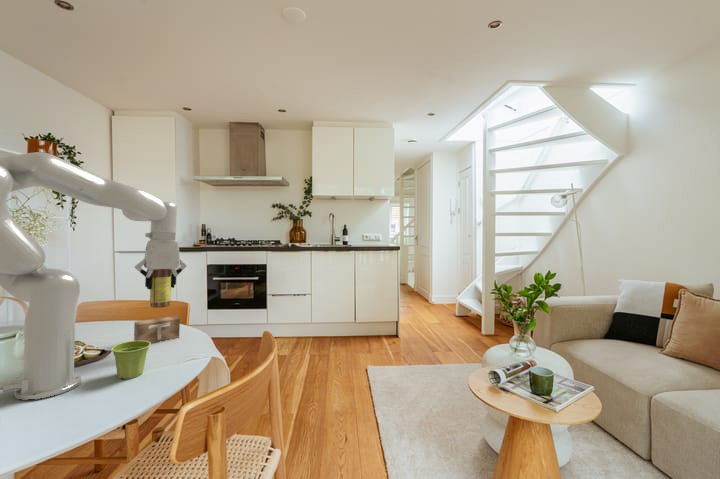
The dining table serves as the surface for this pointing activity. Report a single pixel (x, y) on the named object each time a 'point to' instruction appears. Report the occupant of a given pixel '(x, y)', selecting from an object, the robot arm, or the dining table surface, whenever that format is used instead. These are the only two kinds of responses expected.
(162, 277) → the sauce bottle
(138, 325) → the letter block
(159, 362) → the dining table surface
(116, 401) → the dining table surface
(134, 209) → the robot arm
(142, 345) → the plant pot
